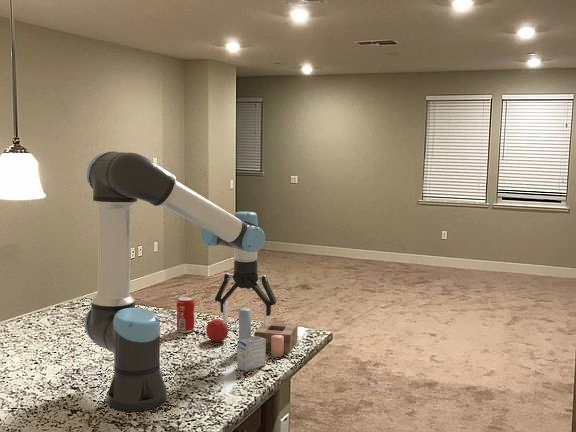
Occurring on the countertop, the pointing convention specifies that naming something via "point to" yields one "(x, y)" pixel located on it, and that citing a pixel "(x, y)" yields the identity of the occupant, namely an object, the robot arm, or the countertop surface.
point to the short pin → (277, 345)
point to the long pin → (244, 323)
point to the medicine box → (251, 353)
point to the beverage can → (185, 314)
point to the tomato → (217, 330)
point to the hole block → (279, 329)
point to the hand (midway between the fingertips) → (245, 323)
